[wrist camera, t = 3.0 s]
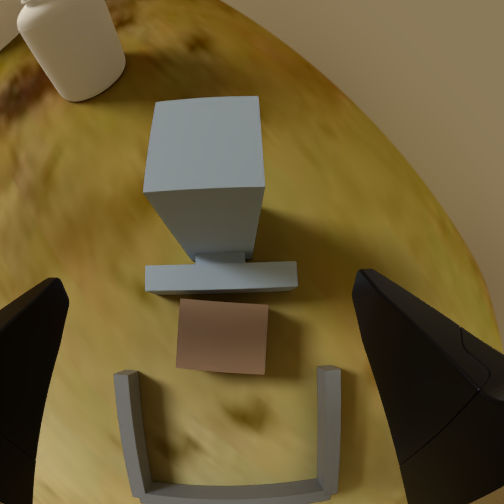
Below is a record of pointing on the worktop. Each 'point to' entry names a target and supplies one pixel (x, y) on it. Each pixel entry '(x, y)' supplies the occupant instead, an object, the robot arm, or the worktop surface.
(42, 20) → the pill bottle
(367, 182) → the worktop surface
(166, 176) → the grey upright block
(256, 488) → the grey u-shaped bar
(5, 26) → the canister
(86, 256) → the worktop surface
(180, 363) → the block
